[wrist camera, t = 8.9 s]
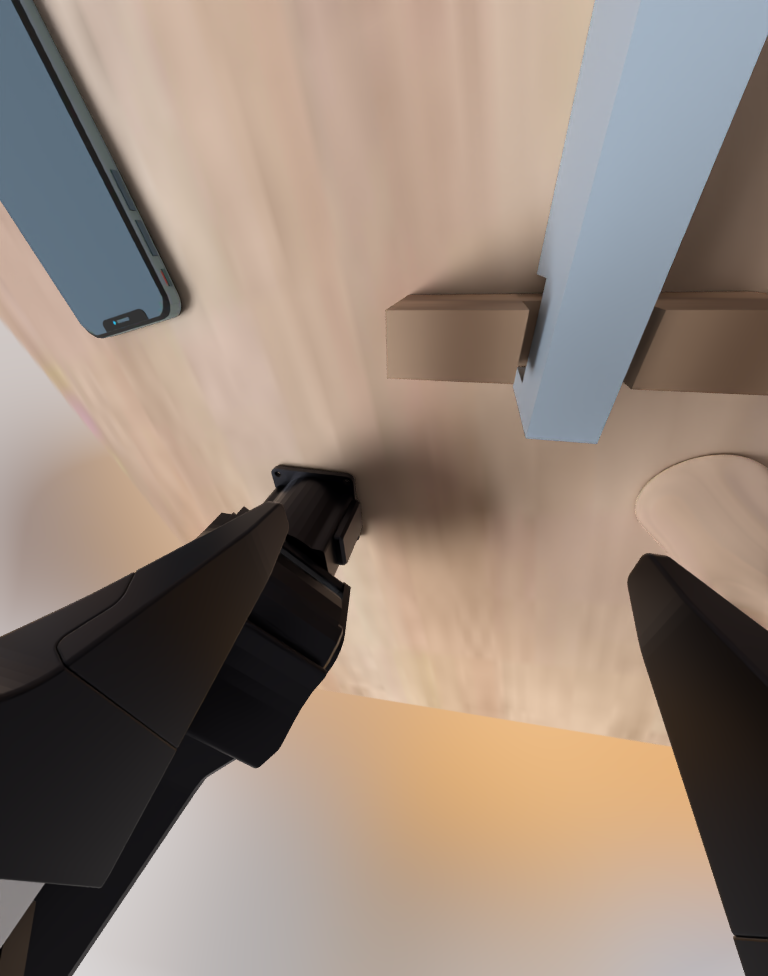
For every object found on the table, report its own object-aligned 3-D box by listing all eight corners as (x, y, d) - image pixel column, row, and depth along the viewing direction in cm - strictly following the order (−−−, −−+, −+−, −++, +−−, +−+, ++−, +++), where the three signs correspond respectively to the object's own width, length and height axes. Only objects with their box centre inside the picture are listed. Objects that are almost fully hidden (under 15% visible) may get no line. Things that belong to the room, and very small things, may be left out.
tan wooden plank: (407, 348, 17) (387, 378, 13) (408, 295, 16) (385, 310, 12) (715, 356, 14) (804, 396, 10) (752, 291, 13) (871, 310, 9)
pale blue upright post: (512, 386, 17) (525, 438, 12) (621, -123, 9) (786, -553, 4) (563, 388, 17) (597, 444, 12) (730, -150, 8) (1066, -682, 4)
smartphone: (-90, -211, 10) (174, 315, 18) (-24, -155, 11) (196, 311, 19) (-180, -64, 13) (87, 342, 20) (-116, -33, 14) (112, 337, 22)
